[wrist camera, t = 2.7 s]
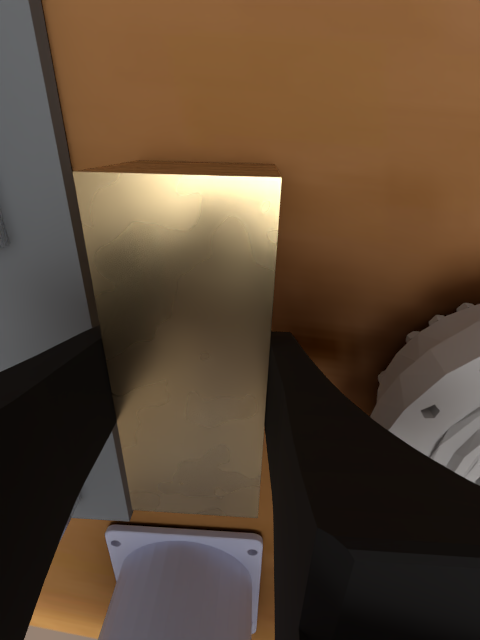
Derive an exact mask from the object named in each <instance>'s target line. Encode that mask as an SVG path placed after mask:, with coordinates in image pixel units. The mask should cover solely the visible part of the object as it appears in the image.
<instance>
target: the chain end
mask: <svg viewBox="0 0 480 640" xmlns="http://www.w3.org/2000/svg"><path fill="white" fill-rule="evenodd" d="M9 244H10V241H9V238H8V234H7V231H6V227H5V223H4V220H3V216H2V213H1V209H0V248H2V247H5V246H7V245H9Z"/></svg>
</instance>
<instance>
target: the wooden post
mask: <svg viewBox="0 0 480 640" xmlns="http://www.w3.org/2000/svg"><path fill="white" fill-rule="evenodd" d="M73 177H74V183H75V188H76V194H77V200H78V205H79V211H80V217H81V222H82V228H83V234H84V239H85V245H86V250H87V256H88V262H89V267H90V273H91V279H92V284H93V290H94V296H95V301H96V307H97V313H98V318H99V324H100V330H101V335H102V341H103V346H104V352H105V358H106V363H107V369H108V375H109V380H110V386H111V392H112V397H113V403H114V409H115V414H116V420H117V426H118V431H119V437H120V442H121V448H122V454H123V459H124V465H125V471H126V476H127V482H128V488H129V493H130V499H131V505H132V510H141V511H157V512H172V513H188V514H203V515H219V516H234V517H250V518H258V508H259V493H260V479H261V465H262V451H263V437H264V422H265V408H266V394H267V380H268V366H269V351H270V337H271V323H272V309H273V295H274V280H275V266H276V252H277V238H278V224H279V209H280V195H281V181H282V177H281V175H280V173H279V172H278V170H277V168H276V166H275V164H244V163H208V162H172V161H132V162H126V163H120V164H114V165H108V166H102V167H96V168H90V169H84V170H78V171H73Z"/></svg>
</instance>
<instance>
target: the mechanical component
mask: <svg viewBox="0 0 480 640" xmlns="http://www.w3.org/2000/svg"><path fill="white" fill-rule="evenodd" d="M428 323H429V327H427V328H425V329H424V330H422V331H421V332H419V331H413V332H411V333H409V334H408V335H407V337H406V342H407V344H406V345H405V346H404V347H403V348H402V349H401V350H400V351H398V352H397V354H396V355H395V357H394V358H393V360H392V361H391V363H390V364H389V366H388V367H387V368H386V370H385V371H382V372H381V373H380V374H379V375H378V381H379V383H380V385H379V388H378V393H377V404H376V406H375V408H374V410H373V412H372V414H371V416H370V417H371V418H372V419H373V420H375V421H376V422H377V423H379V424H380V425H381V426H383V427H384V428H385V429H387V430H388V431H390V432H391V433H393V434H394V435H395V436H397V437H398V438H400V439H401V440H403V441H404V442H406V443H407V444H409V445H410V446H412V447H413V448H415V449H416V450H418V451H420V452H421V453H423V454H424V455H426V456H428V457H429V458H431V459H433V460H434V461H436V462H438V463H440V464H441V465H443V466H445V467H446V468H448V469H450V470H452V471H453V472H455V473H457V474H459V475H460V476H462V477H464V478H466V479H468V480H469V481H471V482H473V483H475V484H477V485H479V486H480V304H478V305H473V304H471V303H463V304H462V305H460V306H459V307H458V308H457V309H456V312H455V313H453V314H450V315H447V316H444V315H435V316H434V317H433V318H432V319H431V320H430V321H429V322H428Z"/></svg>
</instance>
